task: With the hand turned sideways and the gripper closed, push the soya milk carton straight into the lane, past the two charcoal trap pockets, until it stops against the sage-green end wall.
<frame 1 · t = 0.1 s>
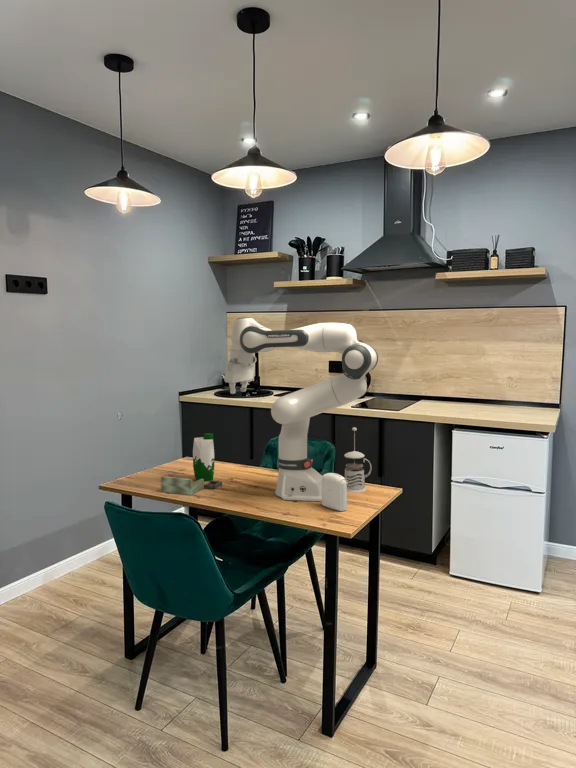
hand: (238, 392, 211), 39 cm above the table, tool pointing down, fingers open, 8 cm apart
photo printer: (334, 508, 188), on the table
french press: (356, 489, 211), on the table
soya milk: (204, 480, 228), on the table
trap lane: (187, 487, 215), on the table
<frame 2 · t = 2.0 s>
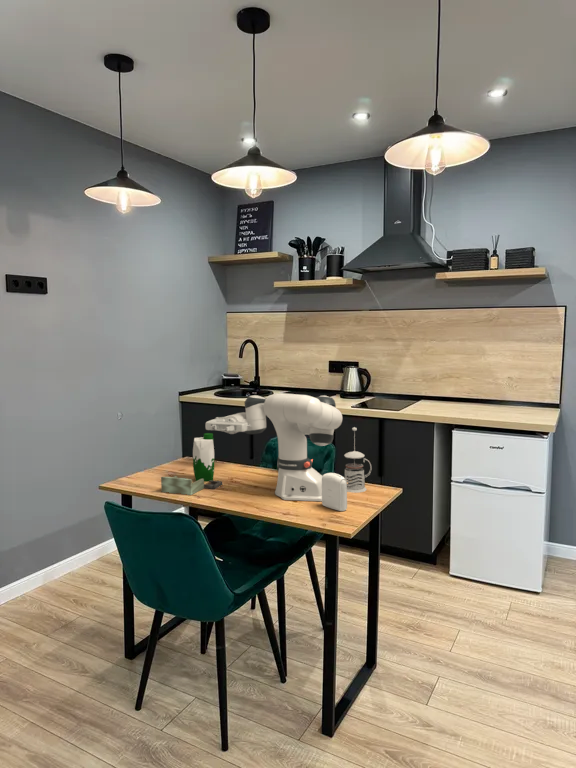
hand: (218, 428, 239), 20 cm above the table, tool horizontal, fingers open, 6 cm apart
nothing on the table moved.
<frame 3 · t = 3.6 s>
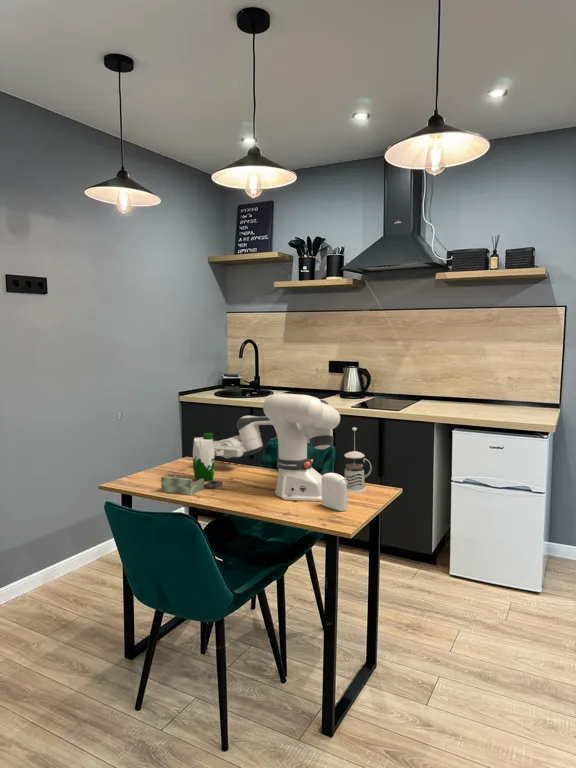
hand: (214, 454, 237), 9 cm above the table, tool horizontal, fingers closed
nothing on the table moved.
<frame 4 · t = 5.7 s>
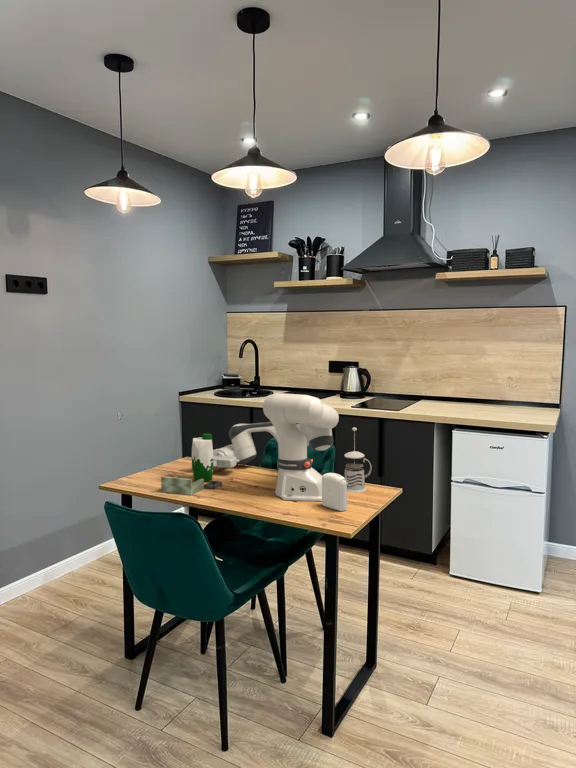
hand: (206, 464, 231), 6 cm above the table, tool horizontal, fingers closed
soya milk: (203, 480, 227), on the table, touching gripper
everything else where it was.
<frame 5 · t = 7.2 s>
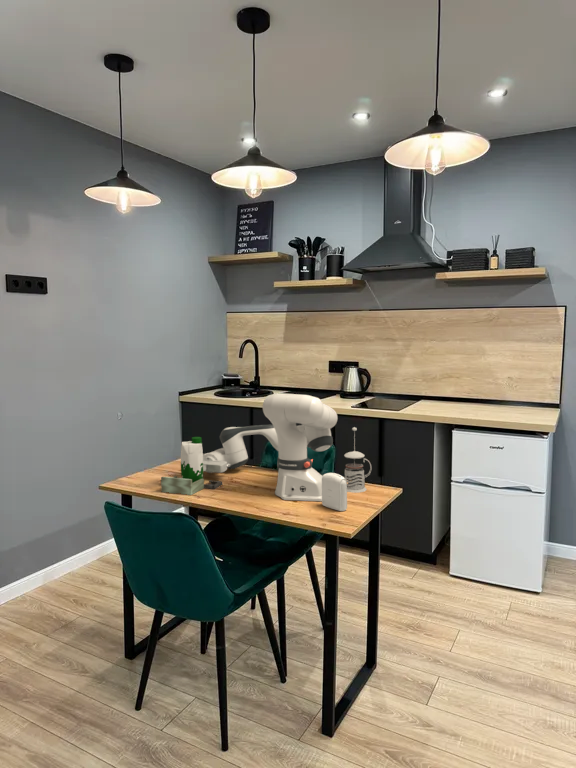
hand: (195, 469, 223), 5 cm above the table, tool horizontal, fingers closed
soya milk: (192, 486, 219), on the table, touching gripper
everything else where it was.
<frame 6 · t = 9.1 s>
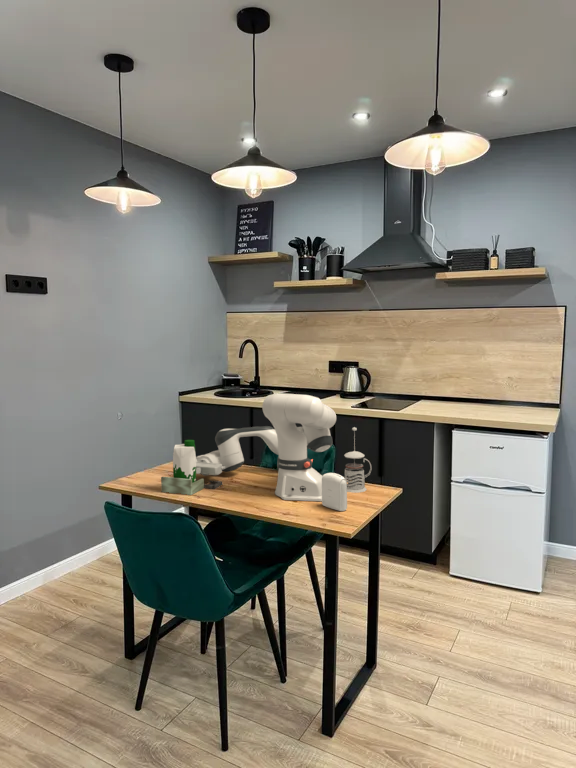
hand: (189, 472, 217), 6 cm above the table, tool horizontal, fingers closed
soya milk: (185, 490, 212), on the table, touching gripper, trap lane
everything else where it was.
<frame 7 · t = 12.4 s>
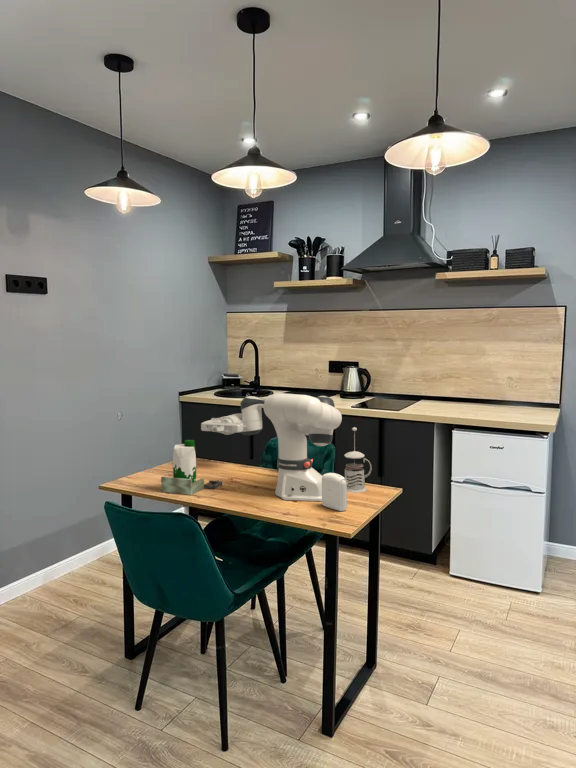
hand: (214, 429, 238), 20 cm above the table, tool horizontal, fingers closed
soya milk: (185, 490, 212), on the table
everything else where it was.
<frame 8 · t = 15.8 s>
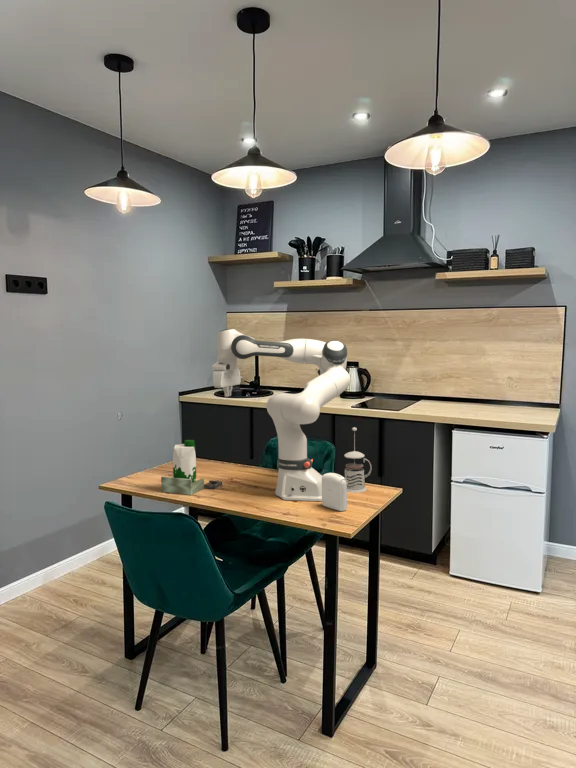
hand: (227, 396, 235), 35 cm above the table, tool pointing down, fingers closed
nothing on the table moved.
at the end: soya milk 0.9 cm from the target spot on the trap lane, point 0.0 cm above the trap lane's base; soya milk tilted 0° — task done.
